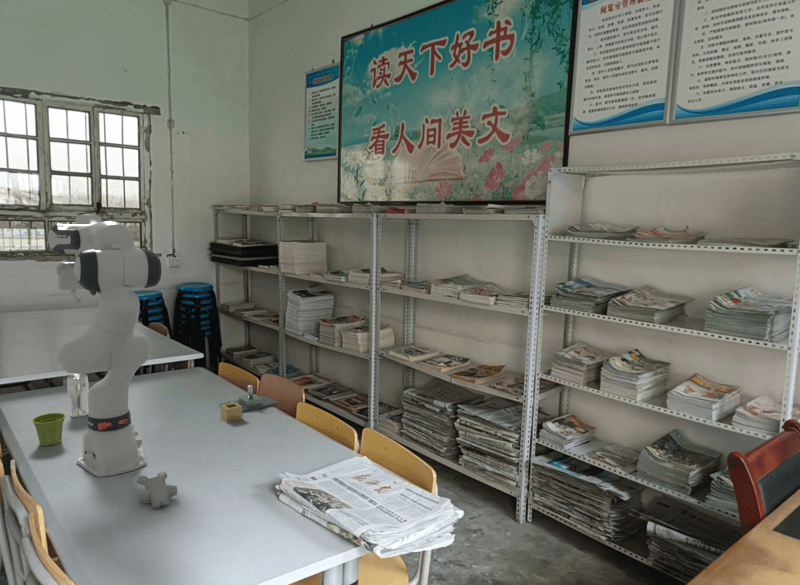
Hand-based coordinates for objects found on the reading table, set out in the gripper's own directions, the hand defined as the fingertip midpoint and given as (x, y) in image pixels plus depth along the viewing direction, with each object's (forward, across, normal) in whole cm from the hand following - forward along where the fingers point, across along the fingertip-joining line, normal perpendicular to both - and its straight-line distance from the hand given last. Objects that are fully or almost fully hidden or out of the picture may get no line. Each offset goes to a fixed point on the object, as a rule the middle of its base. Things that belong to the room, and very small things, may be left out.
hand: (92, 301), depth 194 cm
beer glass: (+46, -1, +18) cm, 49 cm away
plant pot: (+46, -16, -5) cm, 49 cm away
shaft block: (+46, +52, -15) cm, 71 cm away
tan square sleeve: (+46, +40, -23) cm, 65 cm away
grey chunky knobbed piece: (+47, -5, -65) cm, 80 cm away
